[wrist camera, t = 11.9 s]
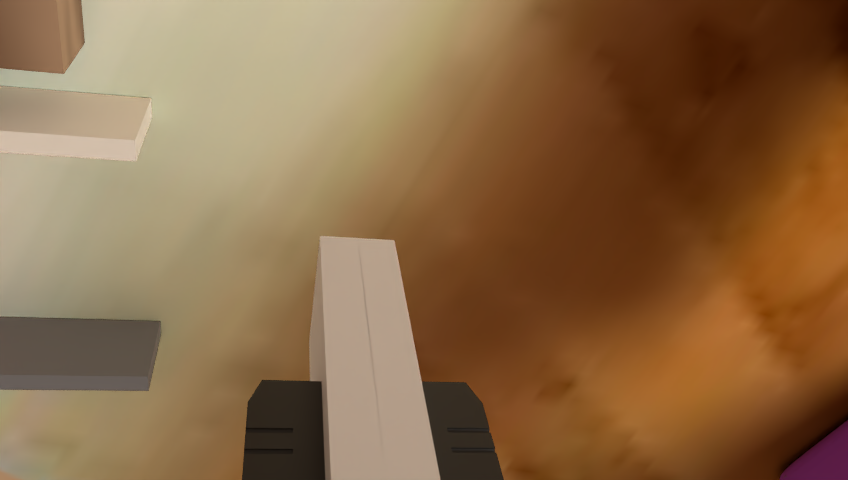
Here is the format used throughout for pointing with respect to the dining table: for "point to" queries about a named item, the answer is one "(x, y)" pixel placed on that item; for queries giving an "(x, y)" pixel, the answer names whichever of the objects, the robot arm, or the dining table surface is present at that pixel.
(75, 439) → the dining table surface
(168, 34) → the dining table surface
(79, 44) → the walnut block
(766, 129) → the dining table surface
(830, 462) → the shopping bag
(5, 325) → the bay box
